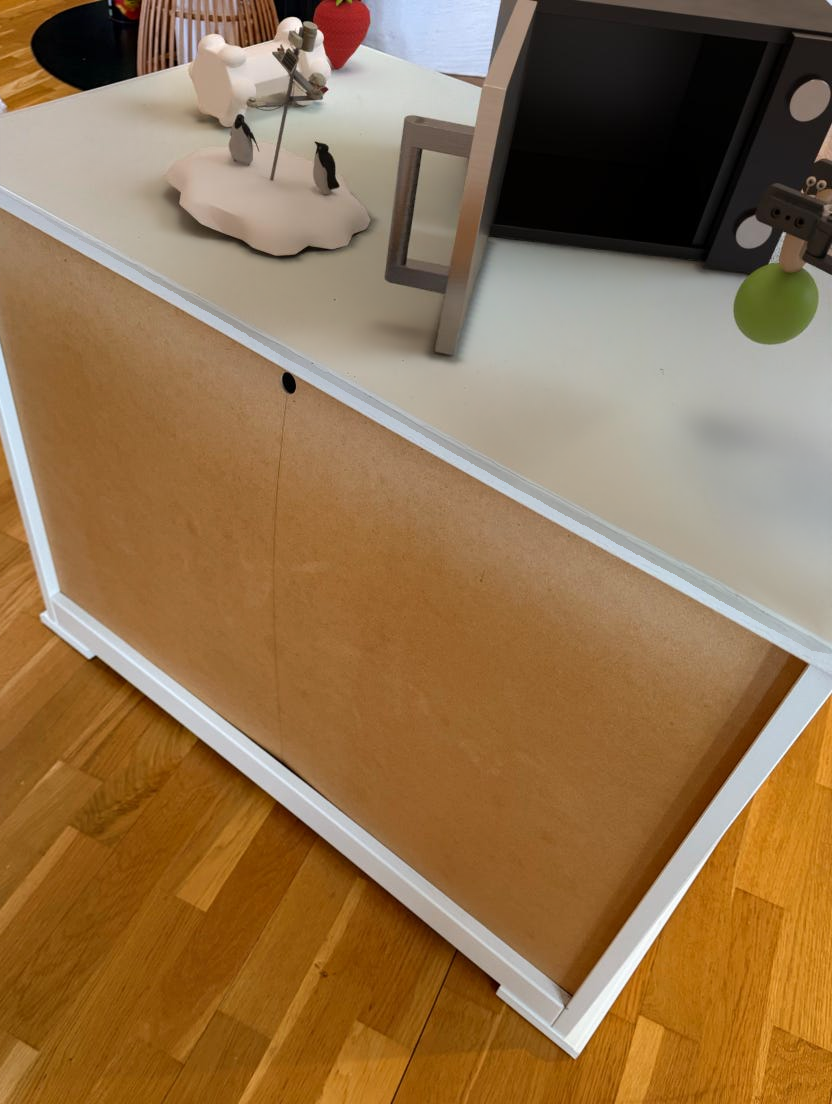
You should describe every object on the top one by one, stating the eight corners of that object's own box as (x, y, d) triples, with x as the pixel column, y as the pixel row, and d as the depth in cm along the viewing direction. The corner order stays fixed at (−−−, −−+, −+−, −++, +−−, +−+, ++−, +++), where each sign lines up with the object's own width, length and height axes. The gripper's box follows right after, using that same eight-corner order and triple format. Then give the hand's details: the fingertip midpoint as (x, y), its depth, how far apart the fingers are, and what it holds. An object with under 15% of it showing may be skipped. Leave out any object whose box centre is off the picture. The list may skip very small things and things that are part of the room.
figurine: (122, 188, 87) (120, -11, 74) (250, 142, 97) (268, -40, 85) (283, 287, 82) (310, 91, 69) (400, 227, 92) (442, 47, 79)
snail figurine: (702, 341, 65) (774, 164, 57) (740, 312, 69) (814, 141, 60) (772, 373, 63) (859, 195, 54) (808, 341, 67) (896, 169, 58)
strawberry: (375, 73, 117) (385, -20, 109) (326, 80, 114) (332, -16, 106) (350, 57, 120) (357, -35, 112) (301, 64, 117) (305, -31, 109)
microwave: (765, 280, 89) (871, 46, 74) (480, 246, 88) (529, 2, 73) (717, 183, 104) (798, -29, 89) (472, 153, 103) (512, -66, 88)
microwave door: (371, 338, 75) (403, 70, 61) (418, 226, 90) (454, -14, 75) (453, 355, 75) (506, 89, 60) (488, 240, 89) (537, 1, 74)
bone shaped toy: (281, 86, 111) (283, 7, 105) (332, 110, 108) (338, 30, 102) (185, 112, 103) (181, 28, 97) (237, 138, 100) (237, 54, 94)
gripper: (1130, 194, 54) (860, 101, 61) (1058, 265, 46) (759, 151, 53) (1047, 312, 59) (808, 215, 66) (970, 393, 52) (710, 274, 59)
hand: (787, 187), depth 60 cm, fingers closed on snail figurine, 6 cm apart
